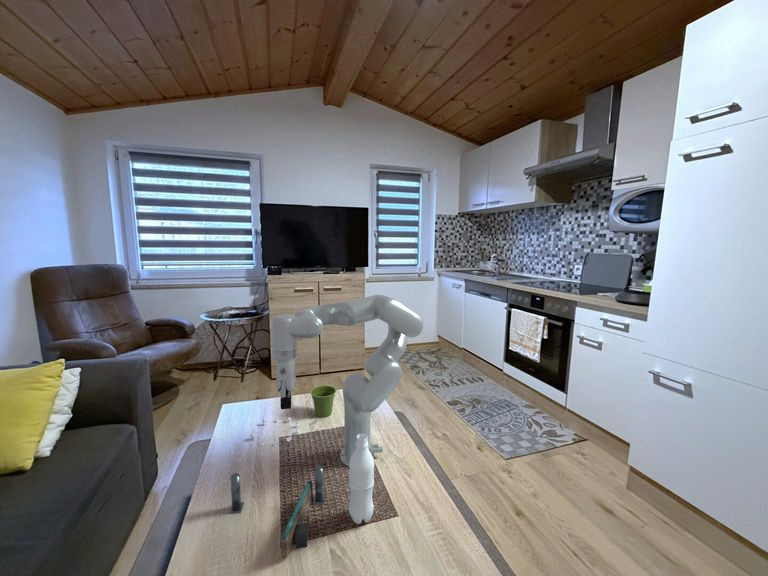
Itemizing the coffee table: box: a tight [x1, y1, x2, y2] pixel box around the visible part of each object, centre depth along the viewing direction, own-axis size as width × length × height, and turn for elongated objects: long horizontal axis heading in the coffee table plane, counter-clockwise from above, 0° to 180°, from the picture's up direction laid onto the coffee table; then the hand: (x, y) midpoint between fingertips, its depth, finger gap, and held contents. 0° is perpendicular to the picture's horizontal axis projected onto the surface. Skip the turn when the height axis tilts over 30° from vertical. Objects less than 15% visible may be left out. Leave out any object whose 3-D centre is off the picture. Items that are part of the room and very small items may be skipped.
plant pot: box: [309, 384, 337, 418], centre depth 150 cm, size 12×12×11 cm
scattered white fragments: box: [250, 417, 301, 448], centre depth 135 cm, size 19×20×4 cm
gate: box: [280, 479, 314, 558], centre depth 90 cm, size 20×2×6 cm, turn 174°
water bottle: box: [348, 434, 375, 525], centre depth 93 cm, size 7×7×25 cm
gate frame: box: [228, 465, 326, 549], centre depth 91 cm, size 27×17×11 cm, turn 99°
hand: (286, 407), depth 106 cm, fingers closed
